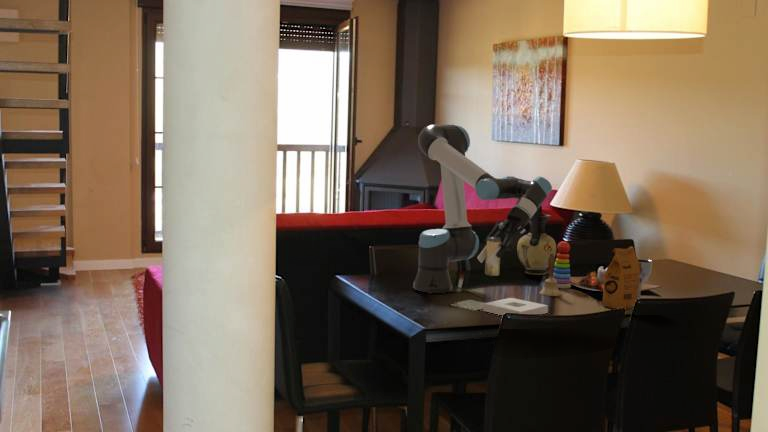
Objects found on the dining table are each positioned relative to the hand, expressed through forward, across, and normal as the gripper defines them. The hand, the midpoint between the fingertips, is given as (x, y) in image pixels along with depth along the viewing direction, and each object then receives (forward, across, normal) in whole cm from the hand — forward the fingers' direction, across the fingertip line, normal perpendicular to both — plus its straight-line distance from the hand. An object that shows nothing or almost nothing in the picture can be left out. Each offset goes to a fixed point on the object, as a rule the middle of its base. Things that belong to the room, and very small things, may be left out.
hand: (484, 261), depth 307 cm
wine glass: (-35, -15, -60) cm, 71 cm away
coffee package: (-23, -20, -48) cm, 57 cm away
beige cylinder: (+1, 0, -6) cm, 6 cm away
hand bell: (-18, +8, -43) cm, 48 cm away
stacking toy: (-28, +16, -53) cm, 62 cm away
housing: (+7, -9, -18) cm, 21 cm away
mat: (+12, +6, -13) cm, 19 cm away
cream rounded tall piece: (-37, +43, -64) cm, 85 cm away
